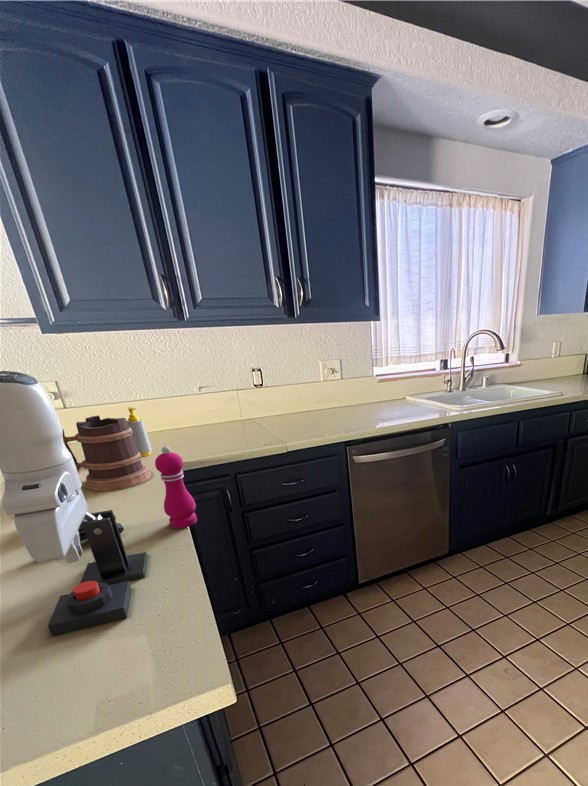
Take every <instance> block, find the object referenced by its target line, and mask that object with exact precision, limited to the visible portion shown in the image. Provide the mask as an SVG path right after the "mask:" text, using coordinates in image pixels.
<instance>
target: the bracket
mask: <svg viewBox="0 0 588 786" xmlns="http://www.w3.org/2000/svg"><path fill="white" fill-rule="evenodd" d="M89 513H90V514H91V515H93V516H94V517H97V516H98V515H99V514H100V515H101V516H103V517H104V518H105V519H99V520H93V521H87V522H83V523H82V526H83V529H84V531H85V534H86V537H87V539H86V541H87V542H88V545H89V548H90V551H91V553H92V556H93V560H94V561H92V562H88V563H87V564H86V567H85V570H84V573H83V575H82V578H81V581H80V583H79V584H81V583H83V582H87V581H96V582H97V583H106V584H107V585H112V584H117V583H121V582H126V581H129V582H130V581H133V580H139V579H143V578H146V572H147V564H148V556H149V555H148V553H147V551H143V552H142V551H141V552H138V553H137V552H136V553H133V554H132V553H131V554H127V551H126V548H125V544H124V542H123V539H122V536H121V533H119V529H118V526H117V523H118V522H117V519H116V520H115V517H116V516H115V517H114V515H115V514H114V511H113V509H108V510H102V511H97V512H89ZM111 523H112V524H111Z"/></svg>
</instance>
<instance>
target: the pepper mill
mask: <svg viewBox="0 0 588 786" xmlns="http://www.w3.org/2000/svg"><path fill="white" fill-rule="evenodd" d="M161 452H162V453H160V454H158V455H157V457H156V458H155V461H154V466H155V469H156V470H157V471H158V472H159V473H160V474H159V475H160V480H161V482H163V483H164V485H165V496H164V501H163V510H164V513H165V515H167V516H168V517H169V519H168V521H169V525H170V527H172V528H174V529H186V528H188V527H191V526H193V525H195V524H196V523H197V522H198V518H197V514H196V513H195V511H196V508H197V504H196V500H195V499H194V498H193V496H192V495H191V494H190V492H189V490H187V488H186V486H185V483H184V477H185V474H184V470H182V469H183V467H184V460H183V458H182V457H181V455H180V454H178V453H176V452H173V451H171V448H170V447H169V446H166V445H165V446H163V447H162V448H161Z"/></svg>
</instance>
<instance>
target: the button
mask: <svg viewBox="0 0 588 786" xmlns="http://www.w3.org/2000/svg"><path fill="white" fill-rule="evenodd" d="M80 583H81V582H80ZM80 583H79V584H77V585H75V586H74V587H73V590H72V591H73V592H74V594H75V597H76V599H77V600H78V601H83V600H87V599H91V598H93V597H95V596H97V595H98V594H99V593H100V589H99V586H98V583H97V582H96V581H87V582H83V583H81V584H80Z"/></svg>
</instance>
